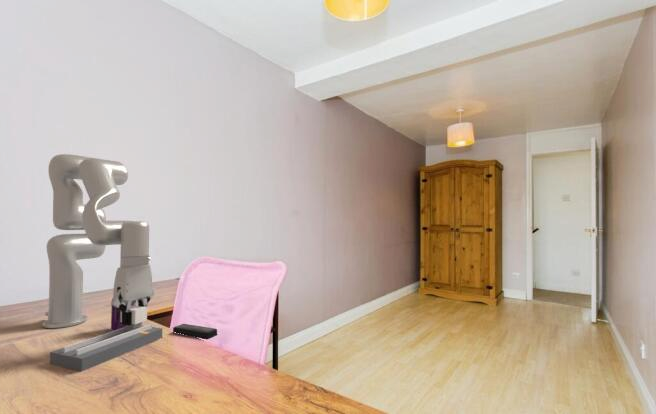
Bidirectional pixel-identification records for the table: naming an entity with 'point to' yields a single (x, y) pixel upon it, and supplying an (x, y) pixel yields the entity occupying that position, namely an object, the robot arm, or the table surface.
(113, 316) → the beverage can
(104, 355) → the fader console
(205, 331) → the multiport hub
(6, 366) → the table surface
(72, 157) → the robot arm
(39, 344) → the table surface
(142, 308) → the fader knob
